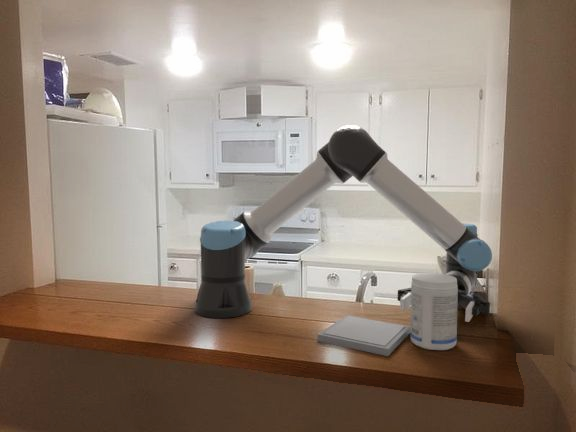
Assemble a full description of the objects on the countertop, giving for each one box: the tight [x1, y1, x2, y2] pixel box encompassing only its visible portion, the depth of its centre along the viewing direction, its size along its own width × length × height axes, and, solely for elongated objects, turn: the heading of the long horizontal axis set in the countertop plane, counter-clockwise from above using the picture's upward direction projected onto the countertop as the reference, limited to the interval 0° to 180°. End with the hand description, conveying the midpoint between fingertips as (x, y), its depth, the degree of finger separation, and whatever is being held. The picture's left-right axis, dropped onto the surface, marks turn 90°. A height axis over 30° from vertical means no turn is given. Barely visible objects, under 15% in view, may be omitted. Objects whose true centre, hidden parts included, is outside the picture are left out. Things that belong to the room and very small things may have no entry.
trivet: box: [316, 314, 411, 357], centre depth 102 cm, size 16×16×2 cm
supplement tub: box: [410, 272, 458, 351], centre depth 98 cm, size 10×10×15 cm
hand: (433, 310), depth 96 cm, fingers open, 13 cm apart
